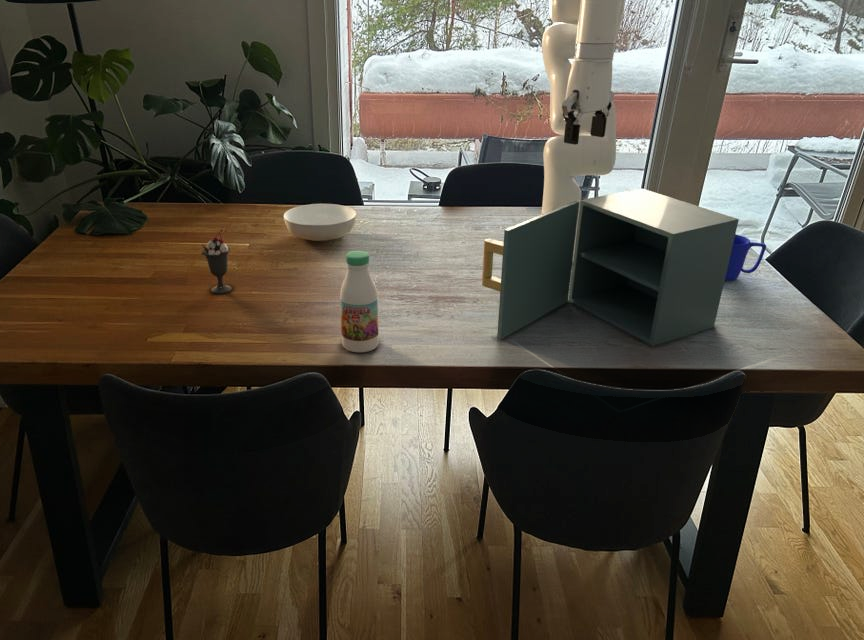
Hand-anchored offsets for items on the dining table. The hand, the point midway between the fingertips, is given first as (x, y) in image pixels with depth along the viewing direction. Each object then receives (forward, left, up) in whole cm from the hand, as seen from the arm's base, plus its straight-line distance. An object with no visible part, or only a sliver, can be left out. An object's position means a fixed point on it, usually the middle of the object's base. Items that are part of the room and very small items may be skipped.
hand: (584, 139), depth 152 cm
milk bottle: (-2, -53, -36) cm, 64 cm away
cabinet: (+15, +8, -36) cm, 40 cm away
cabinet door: (+3, -15, -36) cm, 39 cm away
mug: (+11, +43, -36) cm, 57 cm away
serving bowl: (-69, -33, -36) cm, 85 cm away
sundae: (-45, -70, -36) cm, 91 cm away
